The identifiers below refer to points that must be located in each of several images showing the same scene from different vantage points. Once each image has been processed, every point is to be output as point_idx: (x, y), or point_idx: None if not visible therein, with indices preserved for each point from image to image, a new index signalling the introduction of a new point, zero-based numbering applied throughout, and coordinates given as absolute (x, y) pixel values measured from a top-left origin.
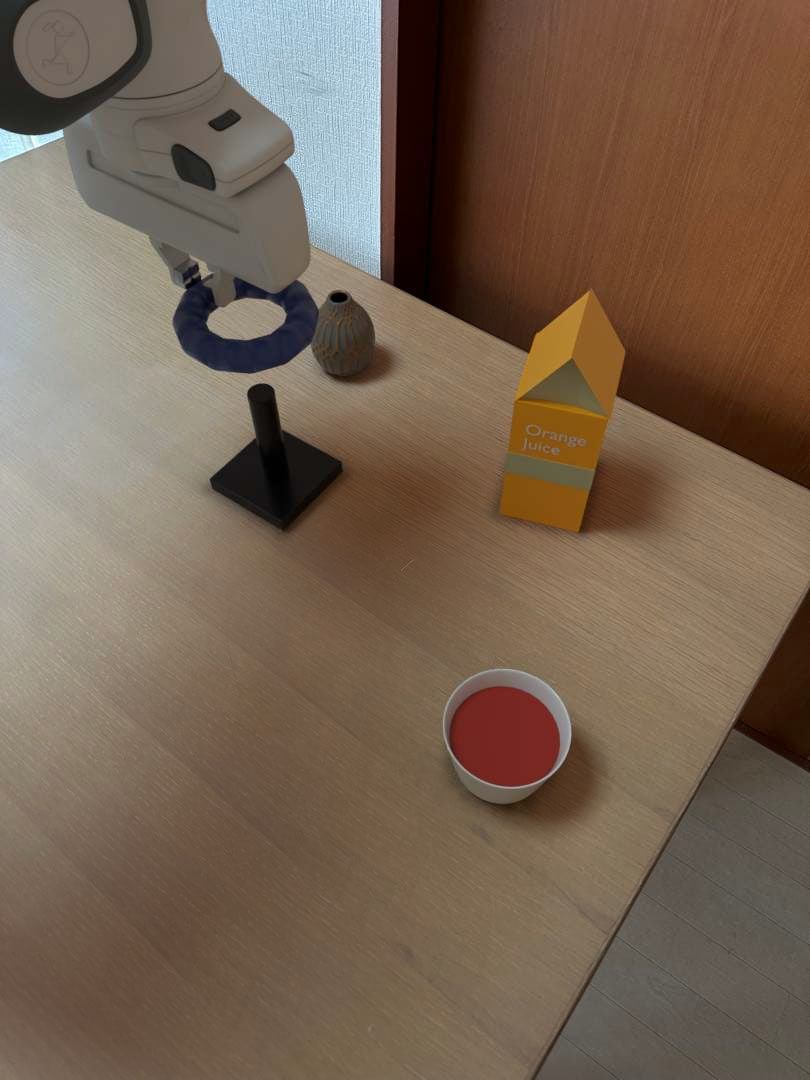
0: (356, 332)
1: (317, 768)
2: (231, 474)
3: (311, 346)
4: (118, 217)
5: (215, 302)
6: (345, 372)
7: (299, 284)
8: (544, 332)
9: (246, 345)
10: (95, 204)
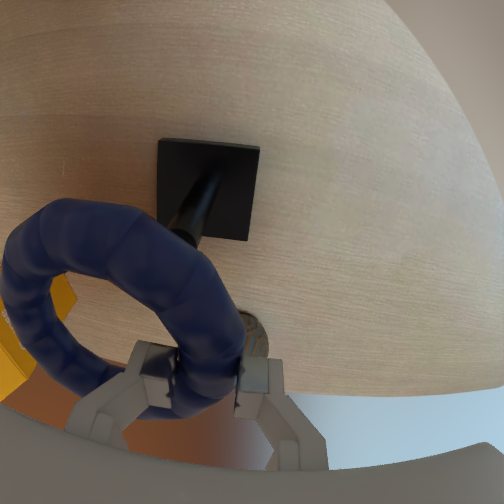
0: None
1: (36, 5)
2: (241, 165)
3: (258, 330)
4: (409, 477)
5: (147, 346)
6: None
7: None
8: (15, 380)
9: (13, 268)
10: (473, 467)
